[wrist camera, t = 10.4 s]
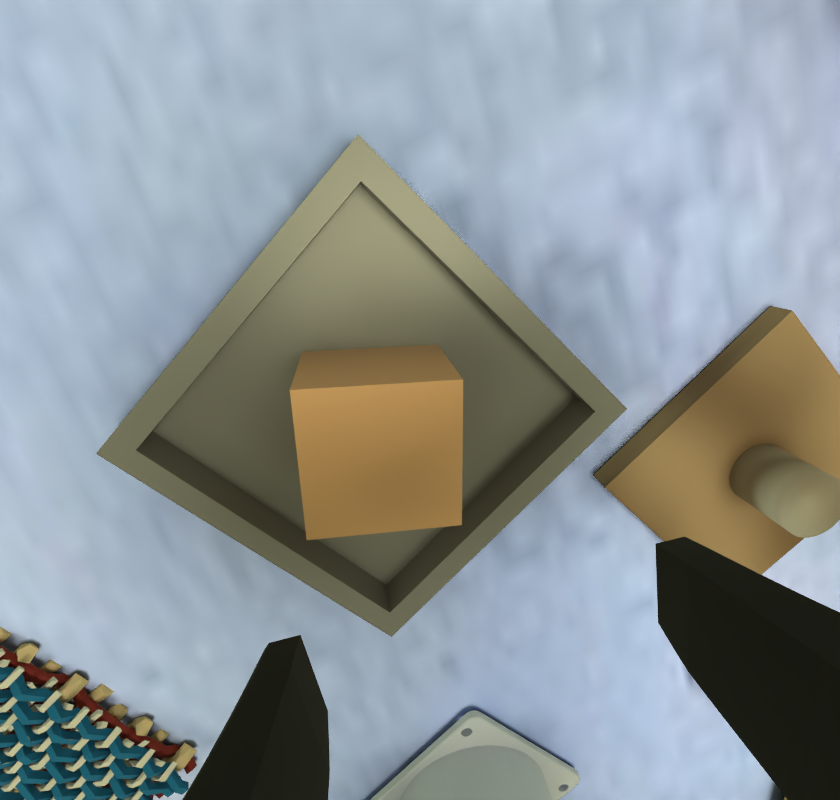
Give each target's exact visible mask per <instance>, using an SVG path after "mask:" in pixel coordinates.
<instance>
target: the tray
mask: <svg viewBox="0 0 840 800" xmlns="http://www.w3.org/2000/svg"><path fill="white" fill-rule="evenodd" d="M437 344H438V346H439V347H440V348H441V350H442V351H443V352H444V354H445V355H446V356H447V358H448V359H449V361H450V362H451V363H452V365H453V366H454V367H455V369H456V370H457V372H458V373H459V374H460V376H461V377H462V378H463V463H462V525H458V526H448V527H437V528H427V529H417V530H406V531H396V532H386V533H375V534H365V535H355V536H344V537H334V538H324V539H313V540H307V539H306V530H305V521H304V512H303V503H302V495H301V486H300V477H299V468H298V459H297V450H296V441H295V432H294V423H293V415H292V406H291V397H290V388H291V385H292V382H293V378H294V375H295V372H296V369H297V366H298V363H299V360H300V357H301V353H302V352H303V351H322V350H341V349H361V348H380V347H399V346H418V345H437ZM626 409H627V408H626V407H625V406H624V405H623V404H622V403H621V402H620V401H619V400H618V399H617V398H616V397H615V396H614V395H613V394H612V393H611V392H610V391H609V390H608V389H607V388H606V387H605V386H604V385H603V384H602V383H601V382H600V381H599V380H598V379H597V378H596V377H595V376H594V375H593V374H592V373H591V372H590V371H589V370H588V369H587V368H586V367H585V366H584V365H583V364H582V362H581V361H580V360H579V359H578V358H577V357H576V356H575V355H574V354H573V353H572V352H571V351H570V350H569V349H568V348H567V347H566V346H565V345H564V344H563V343H562V342H561V341H560V340H559V339H558V338H557V337H556V336H555V335H554V334H553V333H552V332H551V331H550V330H549V329H548V328H547V327H546V326H545V325H544V324H543V323H542V322H541V321H540V320H539V319H538V318H537V317H536V316H535V315H534V314H533V313H532V311H531V310H530V309H529V308H528V307H527V306H526V305H525V304H524V303H523V302H522V301H521V300H520V299H519V298H518V297H517V296H516V295H515V294H514V293H513V292H512V291H511V290H510V289H509V288H508V287H507V286H506V285H505V284H504V283H503V282H502V281H501V280H500V279H499V278H498V277H497V276H496V275H495V274H494V273H493V272H492V271H491V270H490V269H489V268H488V267H487V266H486V265H485V264H484V263H483V262H482V260H481V259H480V258H479V257H478V256H477V255H476V254H475V253H474V252H473V251H472V250H471V249H470V248H469V247H468V246H467V245H466V244H465V243H464V242H463V241H462V240H461V239H460V238H459V237H458V236H457V235H456V234H455V233H454V232H453V231H452V230H451V229H450V228H449V227H448V226H447V225H446V224H445V223H444V222H443V221H442V220H441V219H440V218H439V217H438V216H437V215H436V214H435V213H434V212H433V211H432V209H431V208H430V207H429V206H428V205H427V204H426V203H425V202H424V201H423V200H422V199H421V198H420V197H419V196H418V195H417V194H416V193H415V192H414V191H413V190H412V189H411V188H410V187H409V186H408V185H407V184H406V183H405V182H404V181H403V180H402V179H401V178H400V177H399V176H398V175H397V174H396V173H395V172H394V171H393V170H392V169H391V168H390V167H389V166H388V165H387V164H386V163H385V162H384V161H383V160H382V158H381V157H380V156H379V155H378V154H377V153H376V152H375V151H374V150H373V149H372V148H371V147H370V146H369V145H368V144H367V143H366V142H365V141H364V140H363V139H362V138H361V137H360V136H359V135H357V136H356V138H355V139H354V140H353V141H352V142H351V144H350V145H349V146H348V147H347V148H346V150H345V151H344V152H343V153H342V155H341V156H340V157H339V158H338V159H337V161H336V162H335V163H334V164H333V166H332V167H331V168H330V169H329V170H328V172H327V173H326V174H325V175H324V177H323V178H322V179H321V180H320V181H319V183H318V184H317V185H316V186H315V187H314V189H313V190H312V191H311V192H310V194H309V195H308V196H307V197H306V198H305V200H304V201H303V202H302V203H301V205H300V206H299V207H298V208H297V209H296V211H295V212H294V213H293V214H292V216H291V217H290V218H289V219H288V220H287V222H286V223H285V224H284V225H283V226H282V228H281V229H280V230H279V231H278V233H277V234H276V235H275V236H274V237H273V239H272V240H271V241H270V242H269V244H268V245H267V246H266V247H265V248H264V250H263V251H262V252H261V253H260V255H259V256H258V257H257V258H256V259H255V261H254V262H253V263H252V264H251V265H250V267H249V268H248V269H247V270H246V272H245V273H244V274H243V275H242V276H241V278H240V279H239V280H238V281H237V283H236V284H235V285H234V286H233V287H232V289H231V290H230V291H229V292H228V294H227V295H226V296H225V297H224V298H223V300H222V301H221V302H220V303H219V304H218V306H217V307H216V308H215V309H214V311H213V312H212V313H211V314H210V315H209V317H208V318H207V319H206V320H205V322H204V323H203V324H202V325H201V326H200V328H199V329H198V330H197V331H196V333H195V334H194V335H193V336H192V337H191V339H190V340H189V341H188V342H187V343H186V345H185V346H184V347H183V348H182V350H181V351H180V352H179V353H178V354H177V356H176V357H175V358H174V359H173V361H172V362H171V363H170V364H169V365H168V367H167V368H166V369H165V370H164V372H163V373H162V374H161V375H160V376H159V378H158V379H157V380H156V381H155V382H154V384H153V385H152V386H151V387H150V389H149V390H148V391H147V392H146V393H145V395H144V396H143V397H142V398H141V400H140V401H139V402H138V403H137V404H136V406H135V407H134V408H133V409H132V411H131V412H130V413H129V414H128V415H127V417H126V418H125V419H124V420H123V421H122V423H121V424H120V425H119V426H118V428H117V429H116V430H115V431H114V432H113V434H112V435H111V436H110V437H109V439H108V440H107V441H106V442H105V443H104V445H103V446H102V447H101V448H100V450H99V451H98V452H97V453H96V454H97V455H99V456H101V457H102V458H104V459H105V460H107V461H109V462H110V463H112V464H114V465H115V466H117V467H118V468H120V469H122V470H123V471H125V472H126V473H128V474H130V475H131V476H133V477H135V478H136V479H138V480H139V481H141V482H143V483H144V484H146V485H147V486H149V487H151V488H152V489H154V490H155V491H157V492H159V493H160V494H162V495H164V496H165V497H167V498H168V499H170V500H172V501H173V502H175V503H176V504H178V505H180V506H181V507H183V508H185V509H186V510H188V511H189V512H191V513H193V514H194V515H196V516H197V517H199V518H201V519H202V520H204V521H206V522H207V523H209V524H210V525H212V526H214V527H215V528H217V529H218V530H220V531H222V532H223V533H225V534H227V535H228V536H230V537H231V538H233V539H235V540H236V541H238V542H239V543H241V544H243V545H244V546H246V547H248V548H249V549H251V550H252V551H254V552H256V553H257V554H259V555H260V556H262V557H264V558H265V559H267V560H269V561H270V562H272V563H273V564H275V565H277V566H278V567H280V568H281V569H283V570H285V571H286V572H288V573H289V574H291V575H293V576H294V577H296V578H298V579H299V580H301V581H302V582H304V583H306V584H307V585H309V586H310V587H312V588H314V589H315V590H317V591H319V592H320V593H322V594H323V595H325V596H327V597H328V598H330V599H331V600H333V601H335V602H336V603H338V604H340V605H341V606H343V607H344V608H346V609H348V610H349V611H351V612H352V613H354V614H356V615H357V616H359V617H361V618H362V619H364V620H365V621H367V622H369V623H370V624H372V625H373V626H375V627H377V628H378V629H380V630H382V631H383V632H385V633H386V634H388V635H390V636H391V637H392V636H393V635H394V634H395V633H396V632H397V631H398V630H399V629H400V628H401V627H402V626H403V625H404V624H405V623H406V622H407V621H408V620H409V619H410V618H411V617H412V616H413V615H414V614H415V613H416V612H417V611H419V610H420V609H421V608H422V607H423V606H424V605H425V604H426V603H427V602H428V601H429V600H430V599H431V598H432V597H433V596H434V595H435V594H436V593H437V592H438V591H439V590H440V589H441V588H442V587H443V586H444V585H445V584H446V583H447V582H449V581H450V580H451V579H452V578H453V577H454V576H455V575H456V574H457V573H458V572H459V571H460V570H461V569H462V568H463V567H464V566H465V565H466V564H467V563H468V562H469V561H470V560H471V559H472V558H473V557H474V556H475V555H476V554H477V553H479V552H480V551H481V550H482V549H483V548H484V547H485V546H486V545H487V544H488V543H489V542H490V541H491V540H492V539H493V538H494V537H495V536H496V535H497V534H498V533H499V532H500V531H501V530H502V529H503V528H504V527H505V526H506V525H507V524H508V523H510V522H511V521H512V520H513V519H514V518H515V517H516V516H517V515H518V514H519V513H520V512H521V511H522V510H523V509H524V508H525V507H526V506H527V505H528V504H529V503H530V502H531V501H532V500H533V499H534V498H535V497H536V496H537V495H538V494H540V493H541V492H542V491H543V490H544V489H545V488H546V487H547V486H548V485H549V484H550V483H551V482H552V481H553V480H554V479H555V478H556V477H557V476H558V475H559V474H560V473H561V472H562V471H563V470H564V469H565V468H566V467H567V466H568V465H570V464H571V463H572V462H573V461H574V460H575V459H576V458H577V457H578V456H579V455H580V454H581V453H582V452H583V451H584V450H585V449H586V448H587V447H588V446H589V445H590V444H591V443H592V442H593V441H594V440H595V439H596V438H597V437H598V436H599V435H601V434H602V433H603V432H604V431H605V430H606V429H607V428H608V427H609V426H610V425H611V424H612V423H613V422H614V421H615V420H616V419H617V418H618V417H619V416H620V415H621V414H622V413H623V412H624V411H625V410H626Z"/></svg>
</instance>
